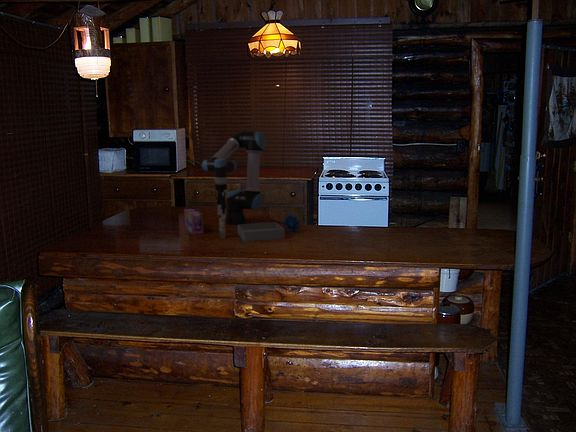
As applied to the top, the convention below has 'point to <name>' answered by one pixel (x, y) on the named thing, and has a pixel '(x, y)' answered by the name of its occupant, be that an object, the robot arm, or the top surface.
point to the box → (261, 231)
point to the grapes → (291, 223)
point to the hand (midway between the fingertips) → (221, 216)
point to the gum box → (193, 221)
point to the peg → (222, 228)
